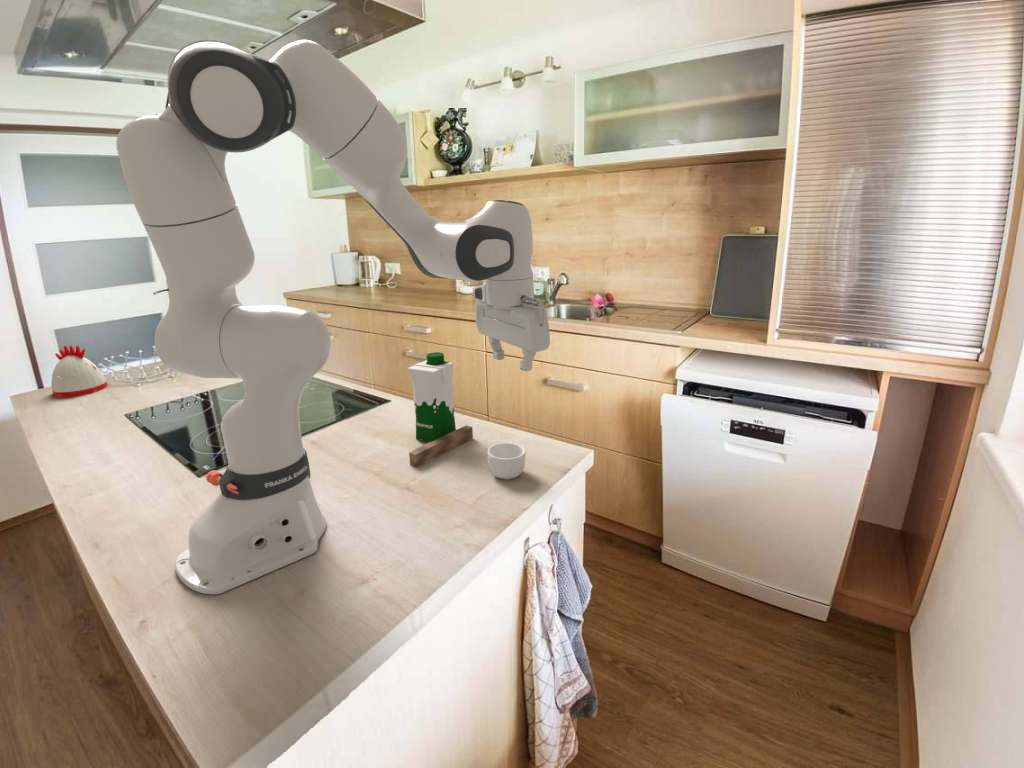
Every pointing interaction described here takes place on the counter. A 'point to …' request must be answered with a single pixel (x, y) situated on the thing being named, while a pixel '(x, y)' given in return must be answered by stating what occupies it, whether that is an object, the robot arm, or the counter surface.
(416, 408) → the milk carton
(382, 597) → the counter surface
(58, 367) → the crested hat
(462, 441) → the strip
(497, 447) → the teacup
